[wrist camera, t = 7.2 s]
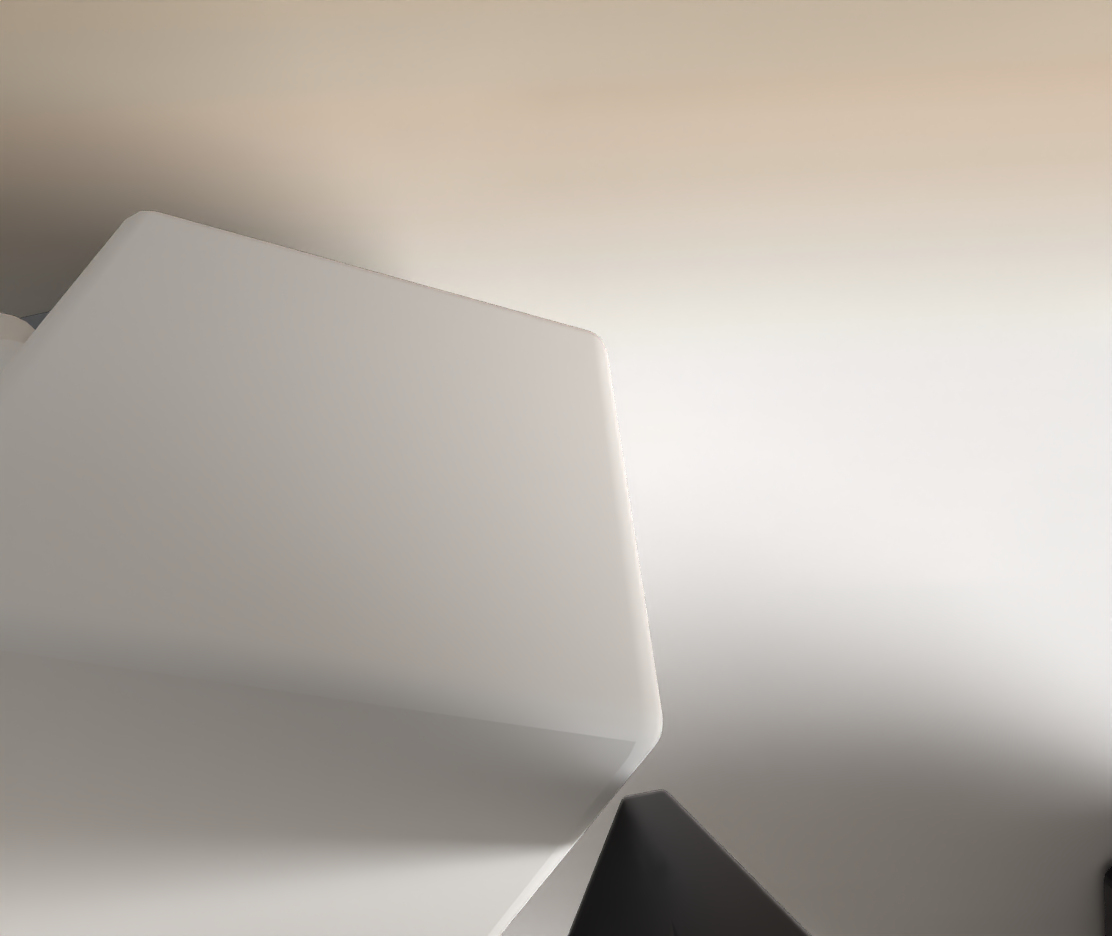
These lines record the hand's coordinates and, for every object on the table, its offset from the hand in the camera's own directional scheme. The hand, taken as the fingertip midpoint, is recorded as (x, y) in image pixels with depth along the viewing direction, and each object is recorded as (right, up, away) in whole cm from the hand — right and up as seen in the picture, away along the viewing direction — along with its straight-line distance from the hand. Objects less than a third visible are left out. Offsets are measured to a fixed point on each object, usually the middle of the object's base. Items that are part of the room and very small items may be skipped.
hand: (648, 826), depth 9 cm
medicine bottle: (-1, +1, +4) cm, 4 cm away
